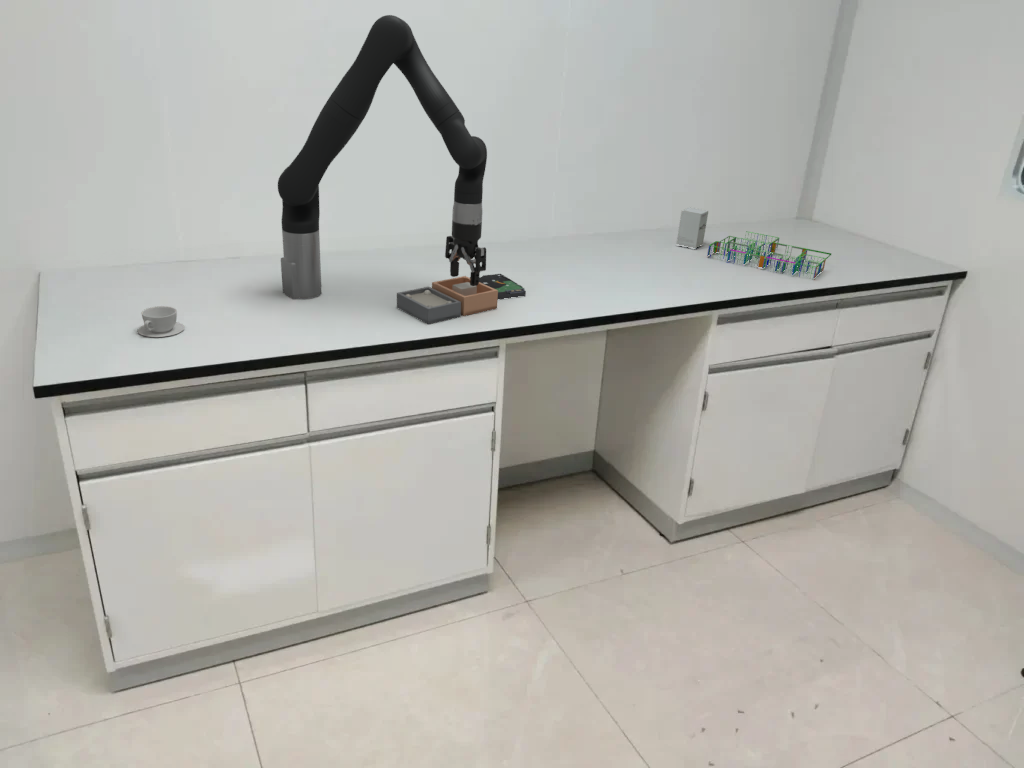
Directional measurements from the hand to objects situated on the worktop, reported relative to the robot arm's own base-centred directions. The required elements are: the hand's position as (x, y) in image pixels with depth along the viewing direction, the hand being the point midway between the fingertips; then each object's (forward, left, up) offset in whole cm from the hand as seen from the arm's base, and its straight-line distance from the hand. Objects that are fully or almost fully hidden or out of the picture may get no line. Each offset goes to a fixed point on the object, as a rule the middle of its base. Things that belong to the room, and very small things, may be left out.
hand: (464, 280), depth 212 cm
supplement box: (+105, +7, -7) cm, 105 cm away
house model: (+117, -18, -7) cm, 118 cm away
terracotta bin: (0, 0, -7) cm, 7 cm away
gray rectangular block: (0, 0, -6) cm, 6 cm away
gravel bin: (-11, 0, -7) cm, 13 cm away
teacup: (-70, +22, -7) cm, 74 cm away
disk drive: (+16, +5, -7) cm, 18 cm away
